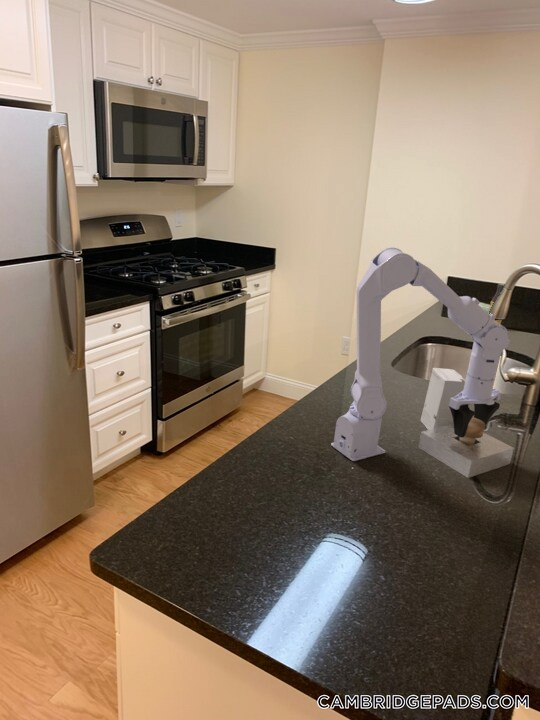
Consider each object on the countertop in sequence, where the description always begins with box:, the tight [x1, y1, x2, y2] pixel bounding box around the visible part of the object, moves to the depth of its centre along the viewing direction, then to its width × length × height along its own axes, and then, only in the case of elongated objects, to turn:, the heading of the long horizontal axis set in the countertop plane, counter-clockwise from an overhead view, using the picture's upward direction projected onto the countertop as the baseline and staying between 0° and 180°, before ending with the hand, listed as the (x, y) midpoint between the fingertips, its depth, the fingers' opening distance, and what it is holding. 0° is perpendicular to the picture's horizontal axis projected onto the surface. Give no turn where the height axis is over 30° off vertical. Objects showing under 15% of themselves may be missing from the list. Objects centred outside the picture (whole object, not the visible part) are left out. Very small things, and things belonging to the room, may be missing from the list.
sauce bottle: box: [488, 282, 505, 325], centre depth 232 cm, size 6×6×20 cm
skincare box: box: [420, 367, 466, 430], centre depth 129 cm, size 8×6×15 cm
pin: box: [459, 416, 486, 446], centre depth 117 cm, size 6×6×6 cm
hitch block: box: [417, 424, 515, 479], centre depth 119 cm, size 14×14×4 cm
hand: (468, 433), depth 117 cm, fingers closed on pin, 6 cm apart
